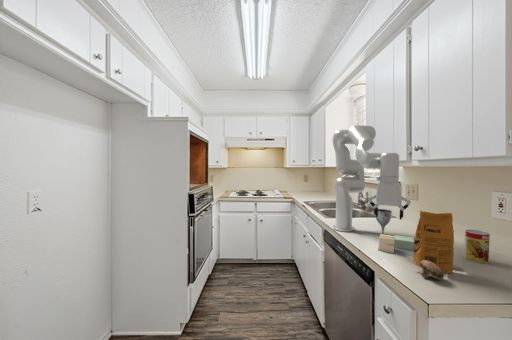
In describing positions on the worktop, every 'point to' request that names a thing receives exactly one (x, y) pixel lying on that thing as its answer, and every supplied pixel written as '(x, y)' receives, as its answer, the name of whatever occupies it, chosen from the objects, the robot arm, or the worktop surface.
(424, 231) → the coffee package
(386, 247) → the maple cube
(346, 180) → the robot arm
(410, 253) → the building board
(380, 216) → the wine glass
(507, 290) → the worktop surface
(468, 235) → the canned food
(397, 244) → the sage slab
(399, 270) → the worktop surface
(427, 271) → the mushroom
